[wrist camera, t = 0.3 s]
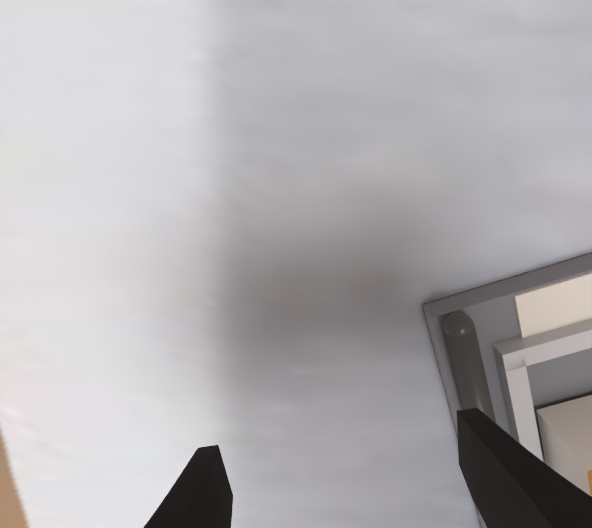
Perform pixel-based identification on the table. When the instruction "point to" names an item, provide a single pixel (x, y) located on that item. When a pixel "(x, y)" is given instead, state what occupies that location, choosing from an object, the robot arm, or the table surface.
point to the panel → (517, 346)
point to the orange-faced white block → (569, 440)
